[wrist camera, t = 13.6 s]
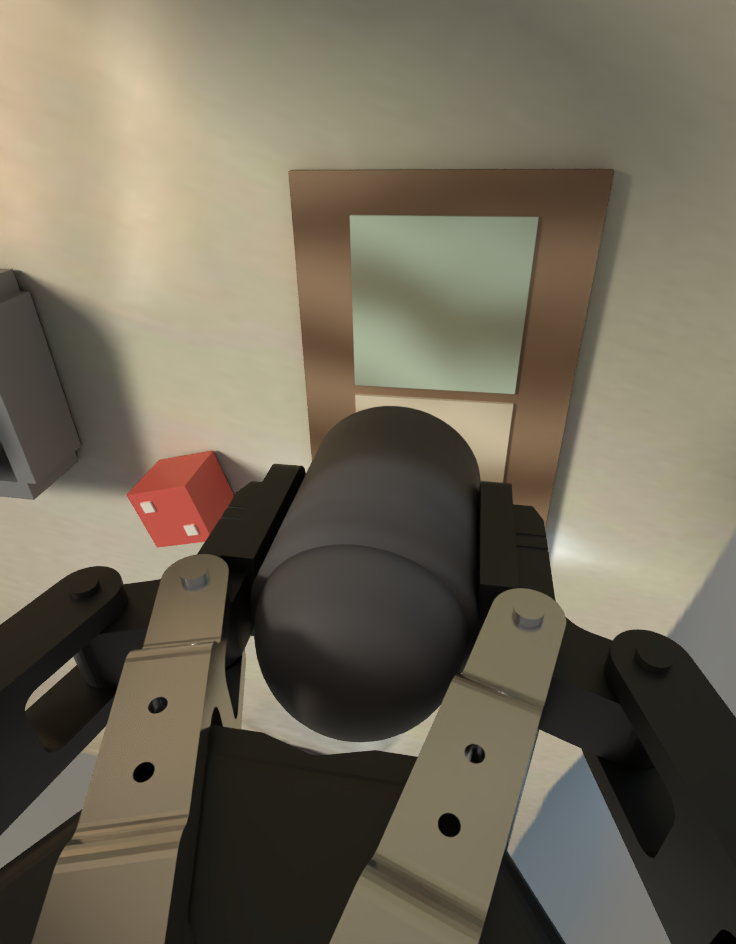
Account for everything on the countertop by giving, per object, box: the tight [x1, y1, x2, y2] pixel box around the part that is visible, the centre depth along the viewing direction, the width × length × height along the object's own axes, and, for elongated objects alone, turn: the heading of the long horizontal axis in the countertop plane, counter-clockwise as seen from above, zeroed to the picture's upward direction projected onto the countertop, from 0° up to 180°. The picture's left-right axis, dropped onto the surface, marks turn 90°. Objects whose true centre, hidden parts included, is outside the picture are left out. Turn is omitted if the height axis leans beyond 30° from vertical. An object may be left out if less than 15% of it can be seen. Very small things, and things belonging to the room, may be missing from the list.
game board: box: [288, 169, 614, 526], centre depth 33 cm, size 30×14×1 cm, turn 1°
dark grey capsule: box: [250, 406, 481, 742], centre depth 12 cm, size 4×4×7 cm
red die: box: [127, 451, 234, 547], centre depth 35 cm, size 4×4×4 cm
